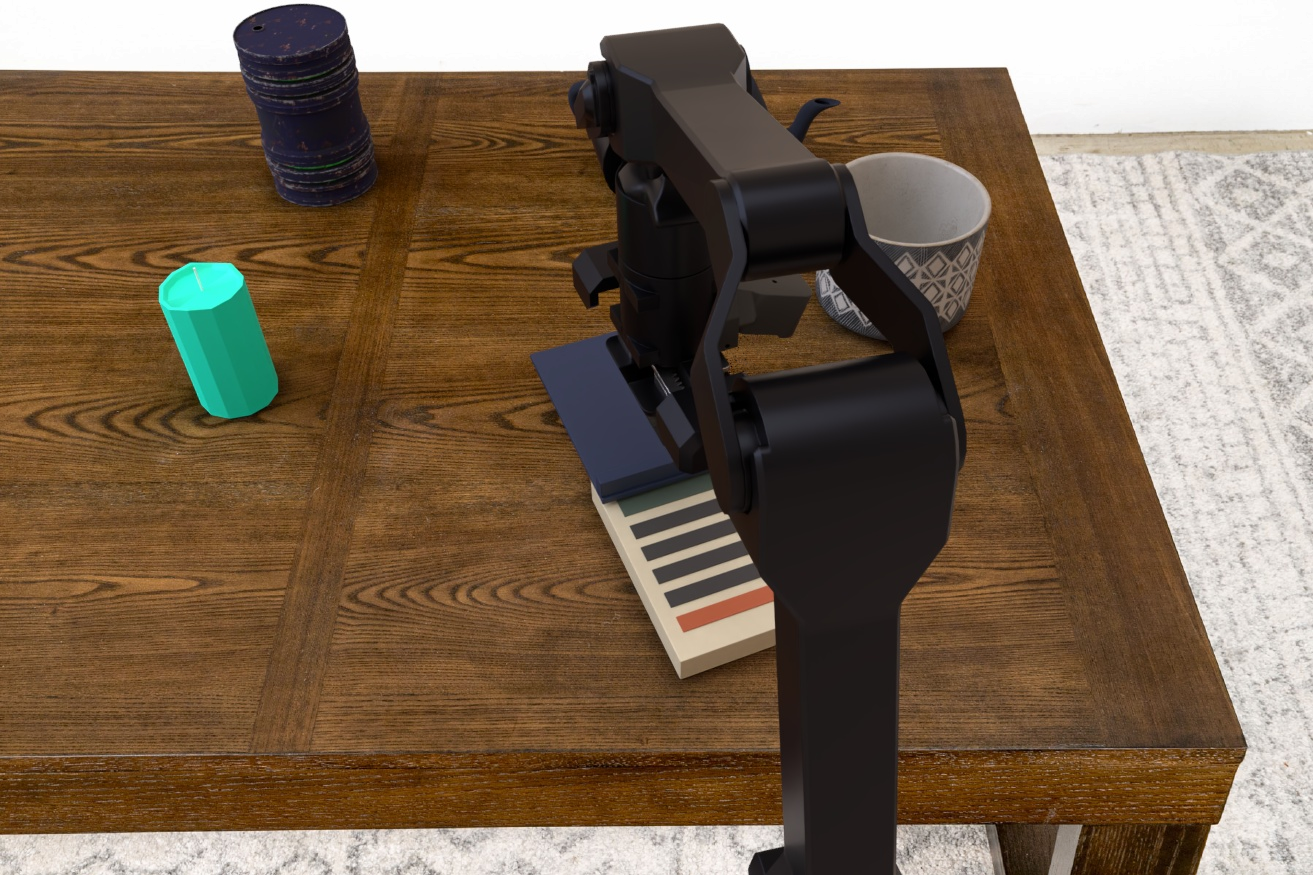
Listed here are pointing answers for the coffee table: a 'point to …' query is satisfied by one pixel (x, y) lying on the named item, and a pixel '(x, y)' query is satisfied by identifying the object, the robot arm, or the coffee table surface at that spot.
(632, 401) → the cover
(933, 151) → the coffee table surface
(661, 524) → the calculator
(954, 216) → the planter
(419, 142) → the coffee table surface
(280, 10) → the dark blue barrel
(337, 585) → the coffee table surface
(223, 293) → the candle
